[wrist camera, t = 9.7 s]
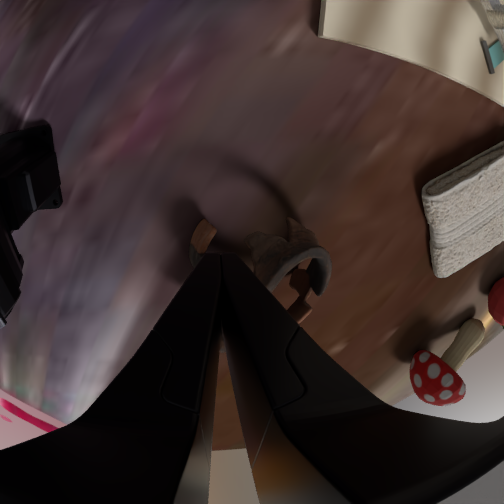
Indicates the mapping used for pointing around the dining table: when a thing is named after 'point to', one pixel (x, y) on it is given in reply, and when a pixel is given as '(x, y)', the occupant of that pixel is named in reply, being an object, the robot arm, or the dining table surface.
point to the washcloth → (465, 211)
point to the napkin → (424, 37)
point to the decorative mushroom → (445, 367)
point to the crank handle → (495, 18)
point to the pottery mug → (277, 262)
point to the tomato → (497, 302)
